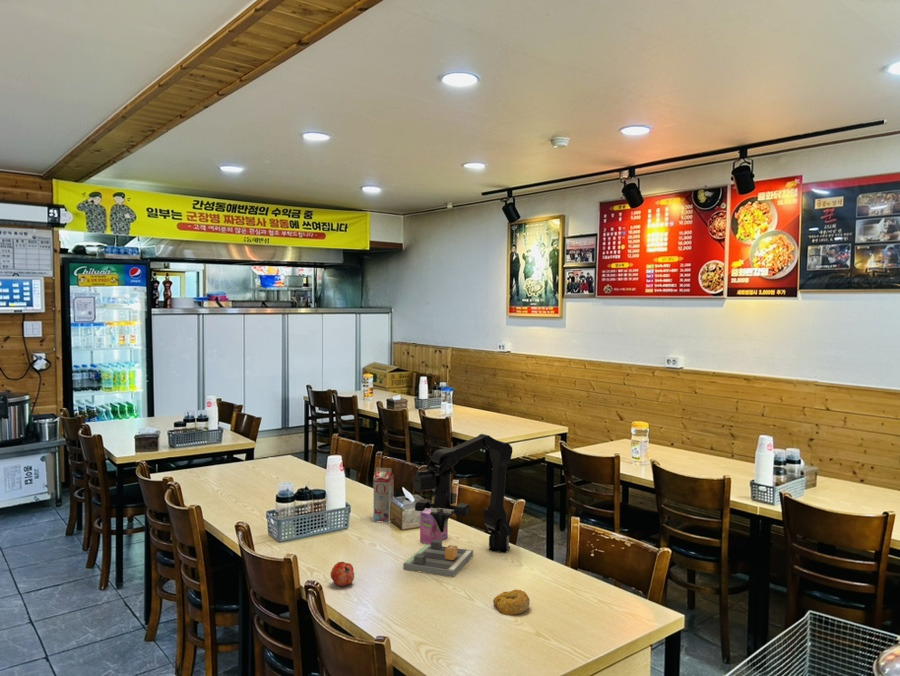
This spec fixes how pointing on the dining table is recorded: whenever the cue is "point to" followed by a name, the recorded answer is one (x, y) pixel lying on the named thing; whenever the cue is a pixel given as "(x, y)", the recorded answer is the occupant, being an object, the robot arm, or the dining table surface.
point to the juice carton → (383, 493)
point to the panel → (437, 560)
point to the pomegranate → (342, 573)
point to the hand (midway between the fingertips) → (442, 531)
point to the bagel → (512, 602)
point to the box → (430, 528)
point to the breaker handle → (451, 552)
